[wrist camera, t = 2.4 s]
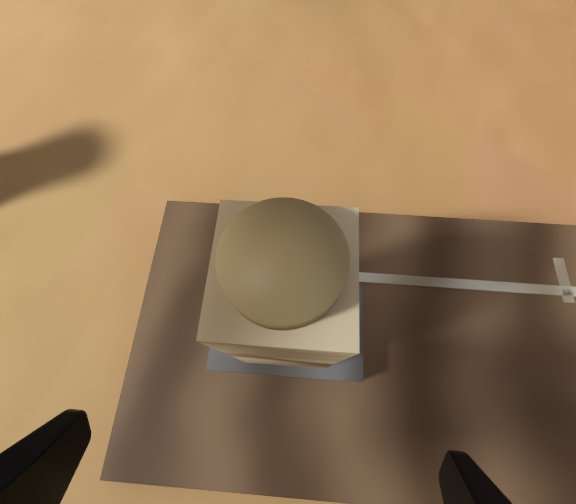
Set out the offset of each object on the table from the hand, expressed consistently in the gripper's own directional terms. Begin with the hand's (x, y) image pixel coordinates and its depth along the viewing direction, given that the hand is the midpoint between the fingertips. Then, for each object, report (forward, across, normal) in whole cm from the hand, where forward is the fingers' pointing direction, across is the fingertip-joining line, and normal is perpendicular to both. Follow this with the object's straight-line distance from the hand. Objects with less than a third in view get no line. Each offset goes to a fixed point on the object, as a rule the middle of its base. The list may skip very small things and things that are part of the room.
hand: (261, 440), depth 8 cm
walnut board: (+11, -8, +5) cm, 14 cm away
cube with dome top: (+10, 0, +4) cm, 11 cm away
